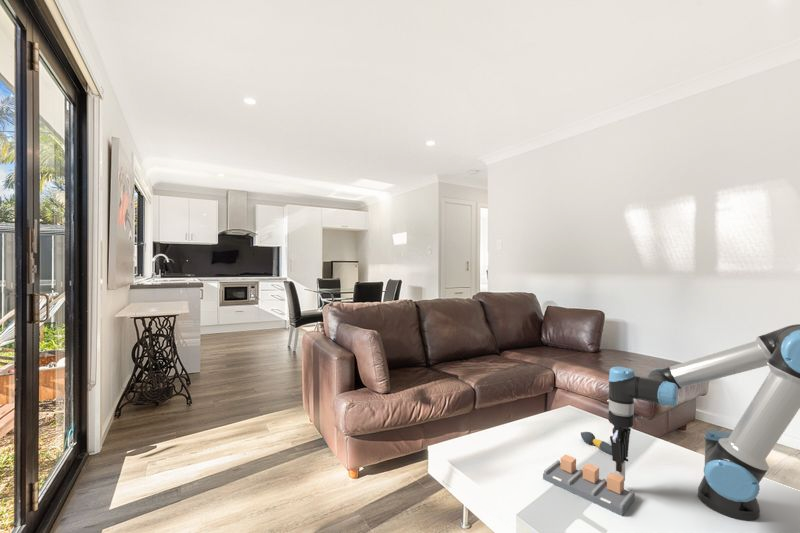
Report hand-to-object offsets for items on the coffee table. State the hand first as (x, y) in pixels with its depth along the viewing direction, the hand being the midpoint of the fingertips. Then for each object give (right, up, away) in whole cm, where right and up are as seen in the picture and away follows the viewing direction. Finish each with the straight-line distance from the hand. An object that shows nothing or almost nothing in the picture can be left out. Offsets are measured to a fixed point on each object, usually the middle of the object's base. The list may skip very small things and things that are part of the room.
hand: (620, 479), depth 128 cm
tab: (-4, -1, -3) cm, 5 cm away
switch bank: (-12, -4, 0) cm, 12 cm away
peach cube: (-9, -1, +3) cm, 9 cm away
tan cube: (-14, -1, +9) cm, 17 cm away
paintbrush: (+9, -4, +28) cm, 30 cm away
